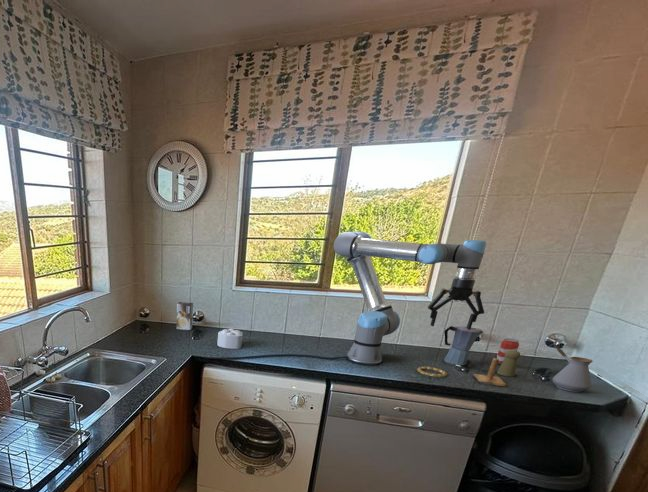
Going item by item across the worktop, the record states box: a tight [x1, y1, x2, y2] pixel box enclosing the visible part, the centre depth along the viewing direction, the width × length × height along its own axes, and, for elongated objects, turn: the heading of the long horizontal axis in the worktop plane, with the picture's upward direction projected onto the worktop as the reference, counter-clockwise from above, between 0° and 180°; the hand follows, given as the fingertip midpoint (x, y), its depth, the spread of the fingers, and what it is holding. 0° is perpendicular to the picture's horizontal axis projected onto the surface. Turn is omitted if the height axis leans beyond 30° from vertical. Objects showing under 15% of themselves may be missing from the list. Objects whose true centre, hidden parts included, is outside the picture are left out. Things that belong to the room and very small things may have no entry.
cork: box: [496, 350, 521, 377], centre depth 179 cm, size 6×6×11 cm
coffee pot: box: [549, 343, 593, 393], centre depth 168 cm, size 21×12×15 cm, turn 171°
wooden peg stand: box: [473, 357, 507, 387], centre depth 171 cm, size 9×9×10 cm
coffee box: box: [176, 301, 194, 331], centre depth 249 cm, size 9×6×16 cm
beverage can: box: [495, 337, 520, 365], centre depth 192 cm, size 6×6×12 cm
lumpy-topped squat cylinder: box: [216, 328, 244, 350], centre depth 217 cm, size 10×13×9 cm
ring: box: [416, 366, 448, 378], centre depth 181 cm, size 11×11×2 cm
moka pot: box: [443, 325, 484, 366], centre depth 190 cm, size 10×15×20 cm, turn 78°
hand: (449, 327), depth 178 cm, fingers open, 13 cm apart
